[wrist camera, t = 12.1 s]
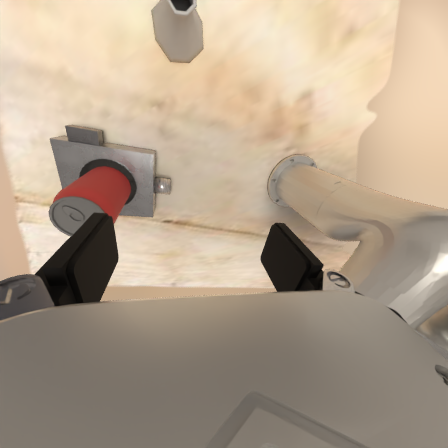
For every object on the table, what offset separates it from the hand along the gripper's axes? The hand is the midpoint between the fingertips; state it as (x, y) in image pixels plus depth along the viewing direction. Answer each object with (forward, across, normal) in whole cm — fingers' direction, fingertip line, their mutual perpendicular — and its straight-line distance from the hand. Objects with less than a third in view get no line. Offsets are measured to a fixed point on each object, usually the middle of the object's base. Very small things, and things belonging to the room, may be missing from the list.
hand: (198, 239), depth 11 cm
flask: (+29, +2, -17) cm, 33 cm away
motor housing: (+28, +12, +5) cm, 31 cm away
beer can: (+24, +13, +6) cm, 28 cm away
